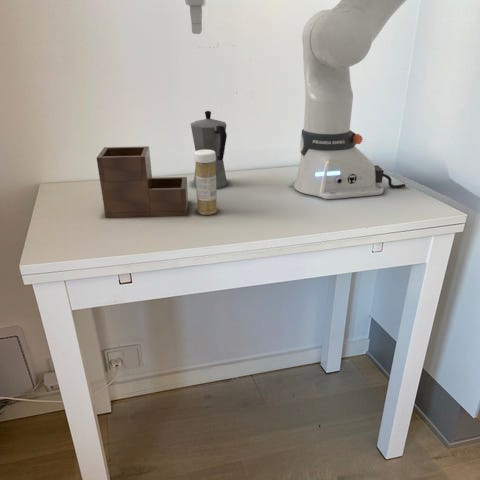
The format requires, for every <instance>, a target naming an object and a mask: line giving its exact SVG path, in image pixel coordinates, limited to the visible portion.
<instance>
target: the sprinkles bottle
mask: <svg viewBox="0 0 480 480" xmlns="http://www.w3.org/2000/svg"><path fill="white" fill-rule="evenodd" d="M193 155H194V163H195V166H196V186H195V187H196V188H195V189H196V201H197V213H198V214H200V215H201V216H202V215H203V216H210V215H214V214H216V213H218V207H217V199H218V198H217V197H218V195H217V192H218V191H217V188H216V172H215V161H216V153H215V151H213V150H198V151H194V153H193Z"/></svg>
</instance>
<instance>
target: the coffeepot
mask: <svg viewBox="0 0 480 480" xmlns="http://www.w3.org/2000/svg"><path fill="white" fill-rule="evenodd" d="M204 115H205V118H204V119H199V120H194V121H192V122H190V129H191V134H192V140H193V145H194V150H195V151H198V150H213V151H215V153H216V161H215V172H216V189H221V188H223V187H226V186H227V185H228V180H227V176H226V174H227V173H226V169H225V162H224V155H225V151H226V150H225V149H226V143H227V137H228V135H227V123H226V121H223V120H218V119H214V118H211V116H212V111H210V110H206V111H204ZM195 151H194V152H195ZM193 185H194V187H196V165H195V168H194V177H193Z"/></svg>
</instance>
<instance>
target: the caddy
mask: <svg viewBox="0 0 480 480" xmlns="http://www.w3.org/2000/svg"><path fill="white" fill-rule="evenodd" d="M151 162H152V161H151V152H150V146H148V145H147V146H146V145H145V146H104V147H103V148H102V150H100V152H99V154H98V155H97V156H96V164H97V171H98V177H99V183H100V189H101V190H100V191H101V196H102V202H103V209H104V214H105V215H104V216H105V218H106V219H107V218H108V219H110V218H111V219H112V218H140V217H141V218H143V217H146V218H147V217H179V216H184V217H185V216H188V211H189V210H188V209H189V192H188V191H189V190H188V176H165V177H164V176H162V177H160V176H159V177H158V176H157V177H153V174H152V173H153V171H152V163H151Z"/></svg>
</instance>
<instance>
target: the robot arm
mask: <svg viewBox="0 0 480 480" xmlns="http://www.w3.org/2000/svg"><path fill="white" fill-rule="evenodd" d="M406 1H407V0H340V1H339V2H338V3H337V4H336V5H335V6H334V7H332V8H331V9H323V10H319V11H317V12H316V13H314V14H313V15H312V16H311V17H310V18H308V20H307V21H306V23H305V24H304V26H303V29H302V31H301V46H302V59H303V60H302V61H303V77H304V92H305V93H304V94H305V95H304V97H305V98H304V116H303V128H302V130H301V135H300V142H299V143H300V144H299V145H300V146H299V150H300V151H299V152H300V160H299V165H298V170H297V174H296V178H295V182H294V184H293V189H294V190H296V191H297V192H299V193H302V194H305V195H309V196H315V197H318V198H322V199H324V200H337V199H346V198H357V197H358V198H359V197H368V196H379V195H382V194H383V193H384V190H385V189H384V185H383V184H382V183H383V180H384V179H383V178H385V179H386V180H387V182H388V186H389V187H390V188H391V189H401V188H406V186H407V185H406V184H405V183H402V184H396V185H395V184H393V183H392V181H393V179H392V177H391V176H390V175H388V174H386V173H384V169H382V168H381V167H380V165H376V164H375V165H374V162H372V160H371V159H370V158H368V156H366V155H365V153H363V152H362V151H361V150H360V149H359V148H357V146H356V145H360V144H362V143H363V140H364V139H363V136H362V135H360V133H356V132H354V131H352V130H351V121H352V110H353V102H354V93H353V92H354V91H353V89H352V83H351V71H350V68H351V67H353V66H355V65H357V64H359V63H361V62H362V61H363V60H364V59H365V58H366V56H368V53H370V49H371V48H372V44H373V43H374V41H375V40H376V39H377V37H378V35H379V34H380V33H381V31H382V30H383V28H384V27H385V26H386V25H387V23H388V21H389V20H390V19H391V18H392V16H393V15H394V14H395V13H396V12H397V11H398V9H400V8H401V6H402V5H404V4H405V2H406ZM184 2H185V5H186V6H188V7H189V14H190V22H191V33H192V34H193V35H200V34H201V33H202V31H203V23H202V21H203V7H205V6H206V2H207V0H184Z"/></svg>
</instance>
